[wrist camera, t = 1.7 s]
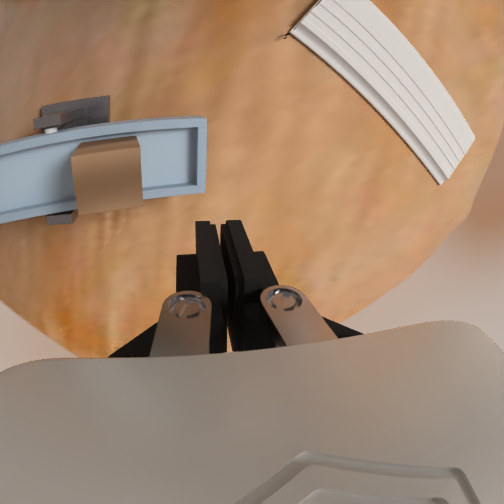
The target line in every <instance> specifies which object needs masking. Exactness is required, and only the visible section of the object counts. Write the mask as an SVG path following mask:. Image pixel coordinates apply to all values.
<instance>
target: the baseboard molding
mask: <svg viewBox="0 0 504 504" xmlns="http://www.w3.org/2000/svg"><path fill="white" fill-rule="evenodd" d="M289 34H292V35H293V36H294V37H296V38H297V39H298V40H300V41H301V42H302V43H303V44H305V45H306V46H307V47H308V48H310V49H311V50H312V51H313V52H315V53H316V54H317V55H318V56H319V57H321V58H322V59H323V60H324V61H325V62H326V63H328V64H329V65H330V66H331V67H332V68H333V69H334V70H336V71H337V72H338V73H339V74H340V75H341V76H342V77H343V78H344V79H345V80H347V81H348V82H349V83H350V84H351V85H352V86H353V87H354V88H355V89H356V90H357V91H358V92H359V93H360V94H361V95H362V96H363V97H364V98H365V99H366V100H367V101H368V102H369V103H370V104H371V105H372V106H373V107H374V108H375V109H376V110H377V111H378V112H379V113H380V114H381V115H382V116H383V117H384V118H385V119H386V121H387V122H388V123H389V124H390V125H391V126H392V127H393V128H394V129H395V130H396V132H397V133H398V134H399V135H400V136H401V137H402V138H403V140H404V141H405V142H406V143H407V144H408V145H409V147H410V148H411V149H412V150H413V151H414V153H415V154H416V155H417V156H418V158H419V159H420V160H421V161H422V163H423V164H424V165H425V166H426V168H427V169H428V170H429V171H430V173H431V174H432V175H433V177H434V178H435V179H436V181H437V182H438V183H439V185H442V183H443V182H444V181H445V180H448V179H449V178H450V176H451V174H452V173H453V171H454V170H455V169H456V167H457V165H458V164H459V162H461V160H462V158H463V156H464V155H465V154H466V152H467V151H468V149H469V148H470V146H471V144H472V143H473V141H474V140H475V136H474V134H473V132H472V130H471V129H470V127H469V125H468V124H467V122H466V120H465V119H464V117H463V115H462V114H461V112H460V110H459V109H458V107H457V106H456V104H455V103H454V101H453V100H452V98H451V97H450V95H449V94H448V92H447V91H446V89H445V88H444V86H443V85H442V84H441V82H440V81H439V79H438V78H437V77H436V75H435V74H434V72H433V71H432V70H431V68H430V67H429V66H428V65H427V63H426V62H425V61H424V59H423V58H422V57H421V56H420V54H419V53H418V52H417V51H416V50H415V48H414V47H413V46H412V45H411V44H410V42H409V41H408V40H407V39H406V38H405V37H404V35H403V34H402V33H401V32H400V31H399V30H398V29H397V28H396V27H395V26H394V24H393V23H392V22H391V21H390V20H389V19H388V18H387V17H386V16H385V15H384V14H383V13H382V12H381V11H380V10H379V9H378V8H377V7H376V6H375V5H374V4H373V3H372V2H371V1H370V0H318V1H317V2H316V3H315V4H314V5H313V6H312V7H311V8H310V9H309V10H308V12H307V13H306V14H305V15H304V16H303V17H302V18H301V19H300V20H299V22H298V23H297V24H296V25H295V26H294V27H293V28H292V30H291V31H290V32H289V33H287V35H289ZM287 35H286V37H287ZM286 37H285V38H286ZM283 39H284V38H283Z"/></svg>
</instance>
